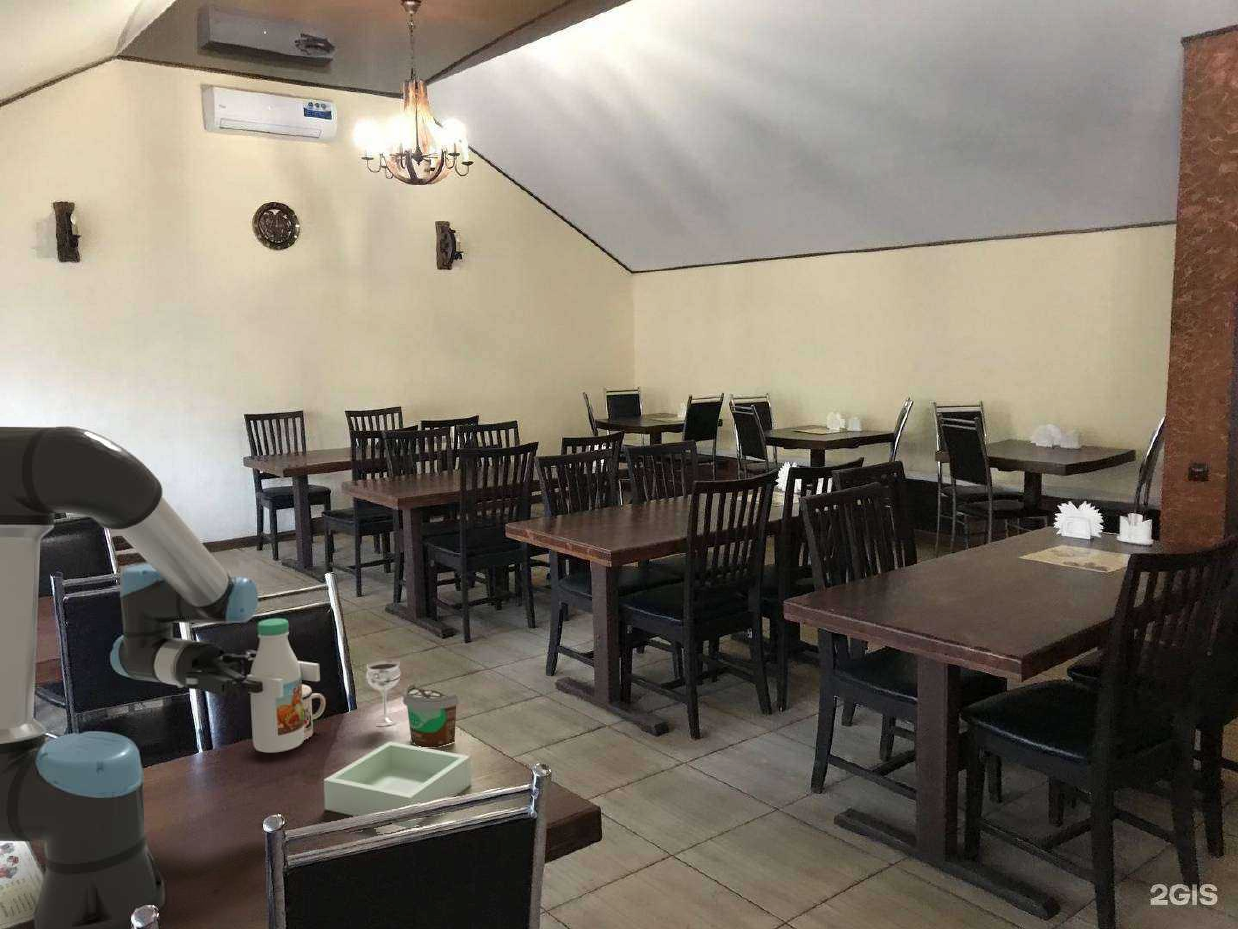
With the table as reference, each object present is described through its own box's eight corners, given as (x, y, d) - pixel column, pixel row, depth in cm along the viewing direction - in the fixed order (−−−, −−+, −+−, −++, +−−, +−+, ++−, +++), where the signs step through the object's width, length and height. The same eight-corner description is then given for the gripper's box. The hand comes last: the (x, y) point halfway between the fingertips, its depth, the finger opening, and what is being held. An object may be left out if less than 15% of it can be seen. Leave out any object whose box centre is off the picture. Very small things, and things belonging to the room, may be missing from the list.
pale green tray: (411, 828, 148) (410, 797, 148) (325, 809, 155) (323, 779, 155) (471, 784, 164) (470, 756, 163) (390, 768, 171) (389, 741, 170)
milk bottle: (259, 758, 147) (252, 631, 145) (248, 741, 153) (241, 620, 151) (310, 746, 151) (304, 623, 149) (297, 731, 157) (291, 612, 155)
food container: (390, 741, 183) (388, 691, 182) (414, 731, 188) (412, 682, 187) (436, 756, 176) (434, 703, 175) (460, 745, 181) (458, 693, 180)
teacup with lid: (276, 750, 180) (273, 690, 178) (257, 737, 186) (254, 679, 185) (336, 733, 188) (333, 675, 186) (316, 721, 194) (313, 665, 193)
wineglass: (360, 725, 191) (358, 667, 190) (383, 714, 198) (380, 657, 196) (388, 730, 189) (385, 671, 187) (409, 719, 195) (407, 661, 193)
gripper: (239, 668, 168) (344, 683, 158) (141, 706, 149) (252, 726, 140) (237, 626, 167) (342, 639, 158) (137, 659, 148) (249, 676, 139)
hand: (300, 680), depth 149 cm, fingers closed on milk bottle, 7 cm apart
